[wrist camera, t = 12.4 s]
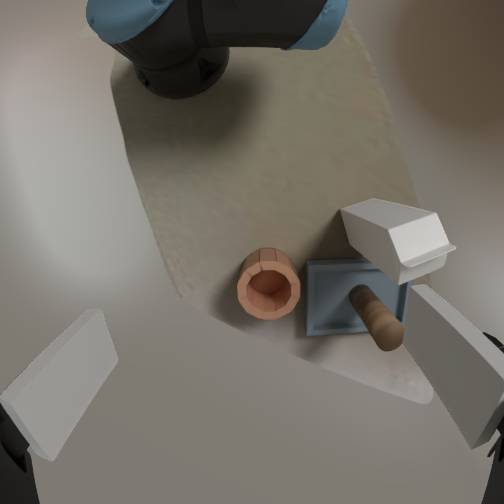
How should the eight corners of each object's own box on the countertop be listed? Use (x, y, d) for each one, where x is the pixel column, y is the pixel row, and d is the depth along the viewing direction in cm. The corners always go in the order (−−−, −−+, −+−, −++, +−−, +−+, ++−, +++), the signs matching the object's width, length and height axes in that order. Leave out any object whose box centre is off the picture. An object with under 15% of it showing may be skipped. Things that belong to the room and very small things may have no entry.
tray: (305, 260, 46) (308, 265, 43) (407, 256, 45) (415, 260, 43) (304, 328, 49) (306, 336, 46) (399, 319, 48) (405, 326, 46)
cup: (239, 248, 46) (235, 262, 39) (294, 246, 46) (300, 260, 38) (242, 299, 48) (239, 320, 41) (294, 297, 48) (299, 318, 40)
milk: (381, 233, 45) (461, 277, 23) (348, 244, 45) (411, 299, 24) (372, 196, 43) (454, 217, 22) (338, 207, 44) (402, 236, 23)
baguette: (349, 284, 46) (379, 325, 32) (372, 283, 45) (408, 321, 32) (347, 307, 47) (374, 353, 33) (370, 305, 46) (402, 349, 33)
